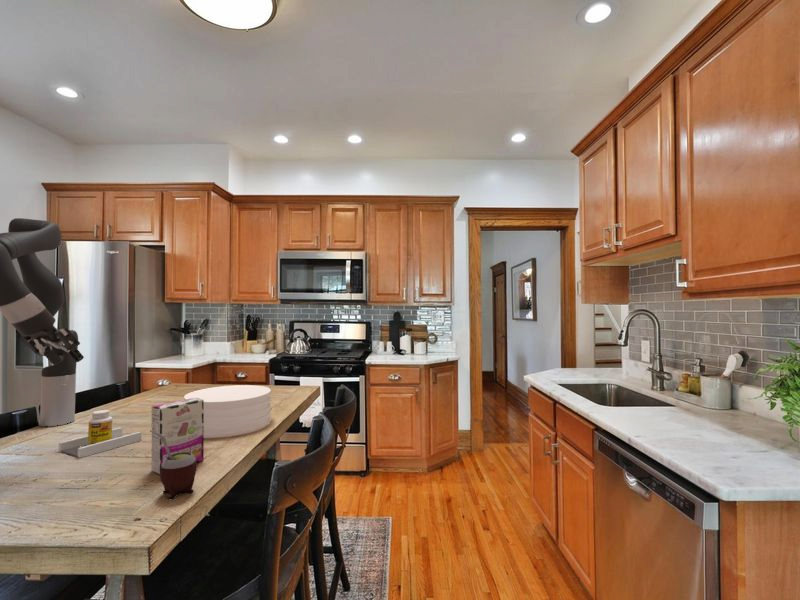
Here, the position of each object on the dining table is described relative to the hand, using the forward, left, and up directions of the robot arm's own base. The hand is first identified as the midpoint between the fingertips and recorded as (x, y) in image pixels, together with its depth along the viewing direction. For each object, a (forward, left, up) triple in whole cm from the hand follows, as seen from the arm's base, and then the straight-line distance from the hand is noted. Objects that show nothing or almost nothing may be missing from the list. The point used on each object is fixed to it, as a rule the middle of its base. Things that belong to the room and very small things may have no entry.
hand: (68, 361), depth 106 cm
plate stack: (-17, +40, -27) cm, 51 cm away
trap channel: (-7, +7, -26) cm, 28 cm away
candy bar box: (+18, +31, -26) cm, 44 cm away
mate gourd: (+35, +34, -26) cm, 55 cm away
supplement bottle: (-6, +6, -26) cm, 28 cm away
